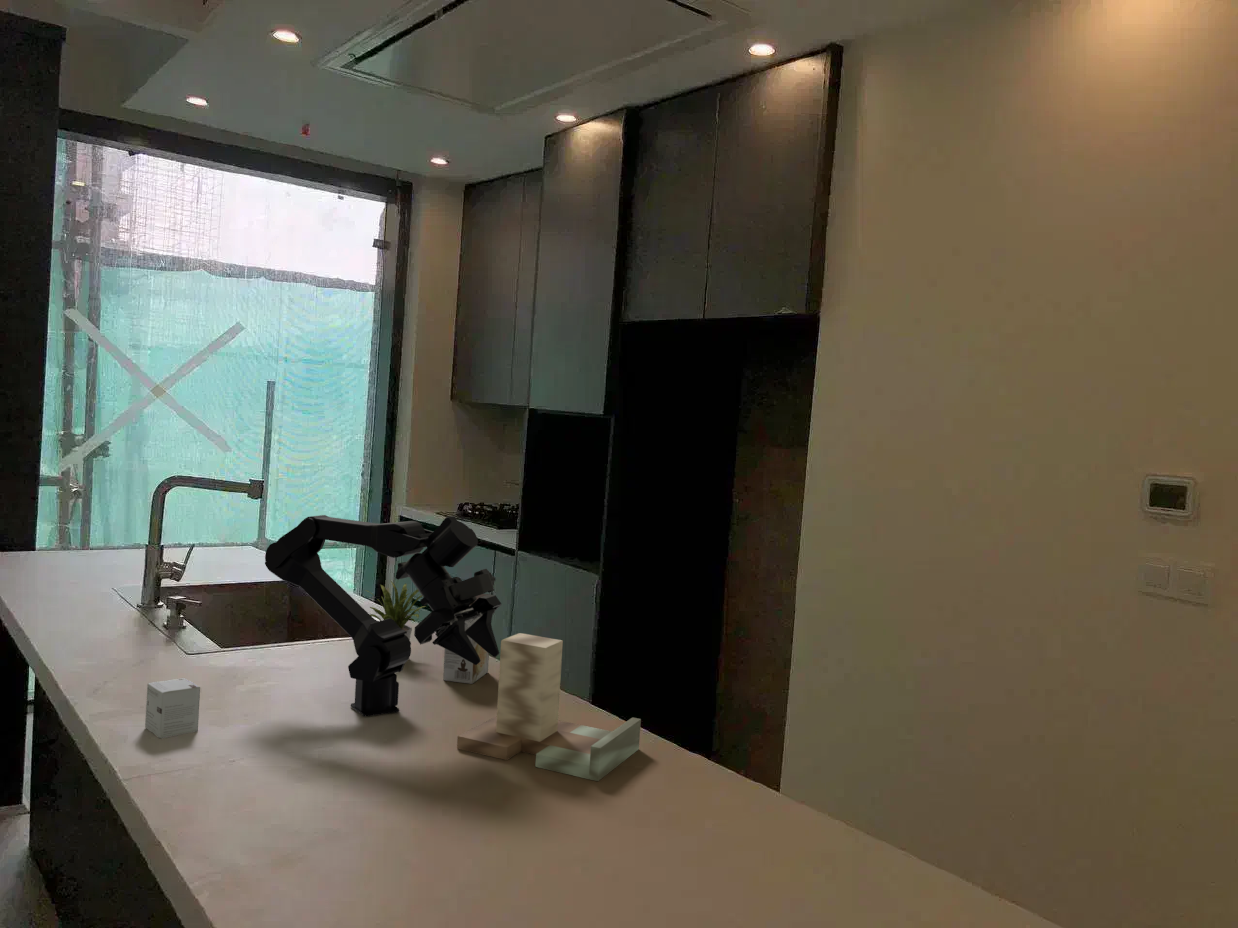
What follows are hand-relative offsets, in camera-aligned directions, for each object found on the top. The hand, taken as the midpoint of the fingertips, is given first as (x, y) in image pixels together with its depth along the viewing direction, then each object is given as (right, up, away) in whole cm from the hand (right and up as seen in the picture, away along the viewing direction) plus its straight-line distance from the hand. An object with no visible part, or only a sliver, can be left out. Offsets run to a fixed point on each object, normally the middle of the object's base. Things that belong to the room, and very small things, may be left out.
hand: (487, 659), depth 161 cm
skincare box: (-49, -10, -7) cm, 51 cm away
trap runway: (+10, -13, -4) cm, 18 cm away
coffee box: (-9, -10, +33) cm, 36 cm away
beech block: (+7, -11, -3) cm, 13 cm away
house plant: (-24, -9, +44) cm, 51 cm away
